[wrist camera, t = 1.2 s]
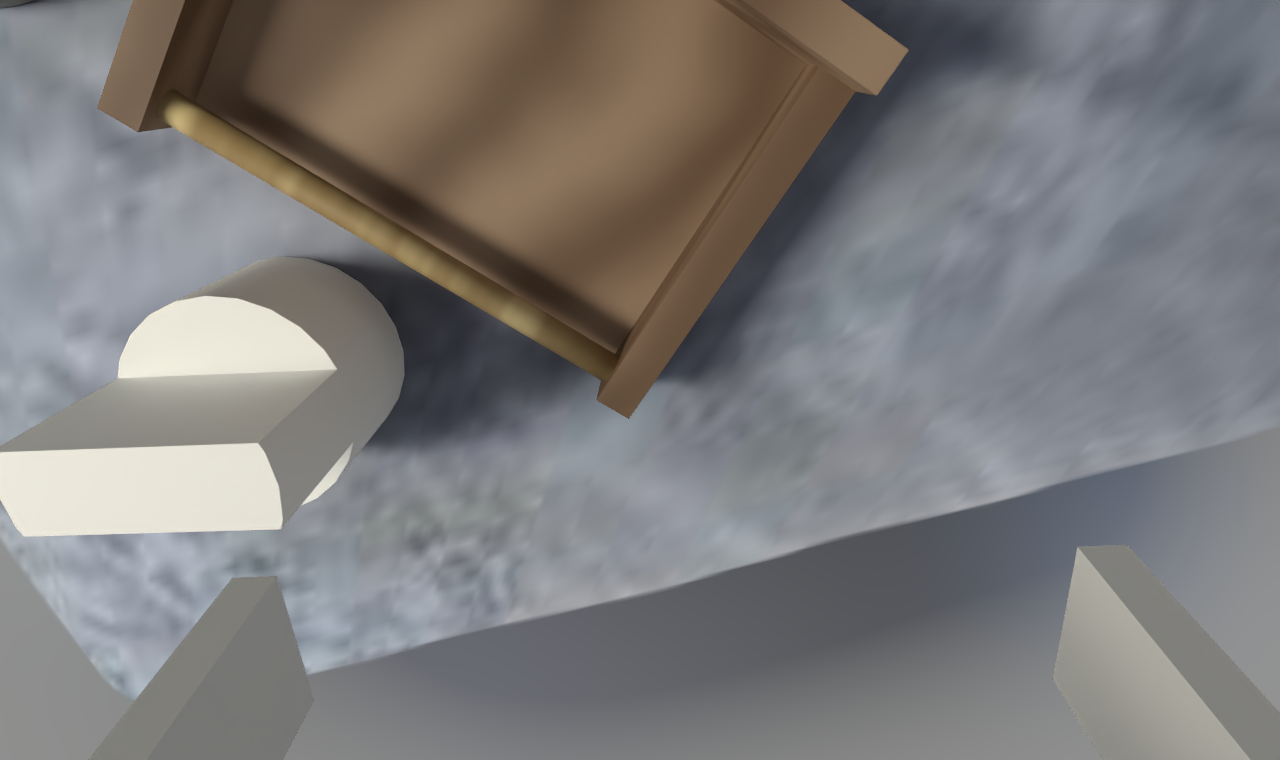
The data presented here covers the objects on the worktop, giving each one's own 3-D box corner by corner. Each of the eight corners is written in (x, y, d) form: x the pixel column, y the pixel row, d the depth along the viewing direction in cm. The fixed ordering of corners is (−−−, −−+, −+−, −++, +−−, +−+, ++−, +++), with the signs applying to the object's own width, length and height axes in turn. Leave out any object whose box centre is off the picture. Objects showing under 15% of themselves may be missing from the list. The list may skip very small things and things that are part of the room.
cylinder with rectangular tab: (385, 251, 33) (242, 347, 22) (419, 441, 37) (310, 607, 26) (180, 261, 34) (-58, 360, 23) (233, 448, 37) (47, 613, 26)
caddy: (164, 102, 31) (33, 114, 25) (323, -334, 26) (208, -462, 20) (633, 380, 35) (624, 453, 29) (858, 51, 30) (909, 49, 23)
